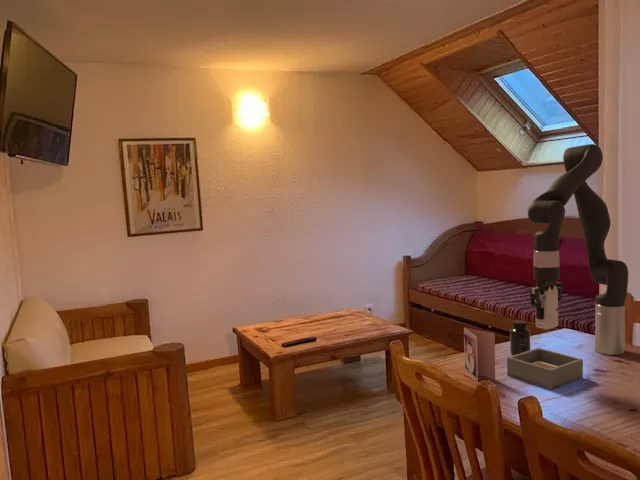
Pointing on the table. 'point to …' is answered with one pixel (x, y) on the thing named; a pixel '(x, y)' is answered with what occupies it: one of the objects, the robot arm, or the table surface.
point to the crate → (545, 368)
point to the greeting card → (479, 353)
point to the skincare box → (549, 310)
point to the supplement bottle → (519, 337)
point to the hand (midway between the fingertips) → (546, 317)
